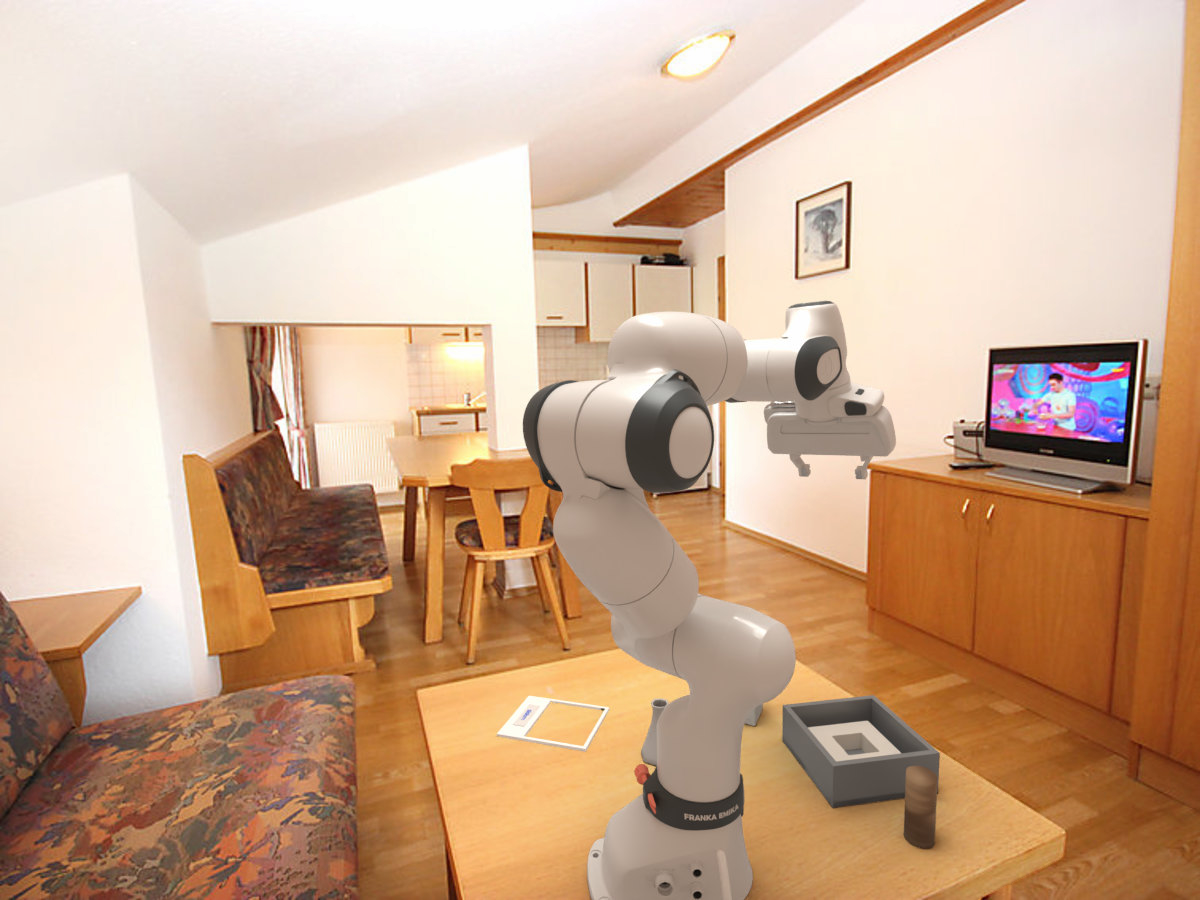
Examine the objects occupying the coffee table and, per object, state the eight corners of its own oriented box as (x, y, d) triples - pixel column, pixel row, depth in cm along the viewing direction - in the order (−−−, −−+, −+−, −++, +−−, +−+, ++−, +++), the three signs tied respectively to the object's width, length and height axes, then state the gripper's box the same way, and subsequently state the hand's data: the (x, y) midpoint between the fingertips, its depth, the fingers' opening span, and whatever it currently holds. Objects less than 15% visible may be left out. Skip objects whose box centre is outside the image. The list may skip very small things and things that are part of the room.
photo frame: (528, 694, 131) (609, 706, 125) (529, 699, 131) (609, 711, 126) (496, 732, 117) (585, 747, 112) (496, 738, 117) (585, 753, 112)
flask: (679, 770, 106) (678, 715, 105) (638, 765, 107) (636, 712, 106) (682, 745, 113) (681, 693, 112) (643, 741, 114) (642, 690, 113)
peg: (915, 850, 87) (917, 785, 86) (897, 830, 91) (899, 767, 90) (941, 846, 87) (944, 781, 86) (922, 826, 91) (925, 764, 90)
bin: (832, 807, 96) (833, 766, 95) (782, 740, 113) (782, 704, 113) (937, 793, 98) (939, 753, 97) (872, 730, 116) (873, 695, 115)
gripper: (754, 408, 104) (767, 481, 108) (884, 405, 91) (892, 488, 96) (769, 395, 108) (780, 466, 113) (894, 390, 96) (901, 470, 100)
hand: (832, 476), depth 104 cm, fingers open, 8 cm apart
